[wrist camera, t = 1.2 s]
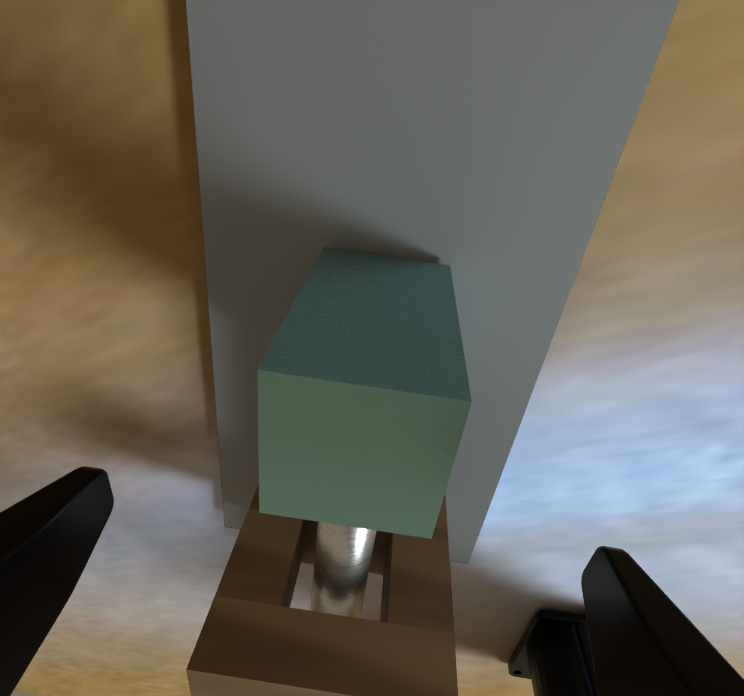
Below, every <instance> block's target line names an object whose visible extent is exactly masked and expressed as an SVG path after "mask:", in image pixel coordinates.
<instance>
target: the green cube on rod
mask: <svg viewBox="0 0 744 696" xmlns="http://www.w3.org/2000/svg"><path fill="white" fill-rule="evenodd" d="M257 374H258V450H259V513H265V514H272V515H278V516H285V517H292V518H298V519H305V520H311V521H318V527H317V539H316V550H315V561H314V573H313V584H312V595H311V607H310V611H314V612H321V613H327V614H334V615H340V616H347V617H353V618H359V619H360V614H361V609H362V603H363V598H364V593H365V588H366V583H367V577H368V572H369V567H370V562H371V557H372V551H373V546H374V541H375V536H376V531H383V532H390V533H396V534H403V535H409V536H416V537H422V538H429V539H432V536H433V532H434V529H435V525H436V522H437V519H438V515H439V512H440V508H441V505H442V502H443V498H444V495H445V491H446V488H447V485H448V481H449V478H450V474H451V471H452V467H453V464H454V461H455V457H456V454H457V450H458V447H459V444H460V440H461V437H462V433H463V430H464V427H465V423H466V420H467V416H468V413H469V410H470V406H471V403H472V400H471V393H470V387H469V381H468V375H467V368H466V362H465V356H464V350H463V343H462V337H461V331H460V325H459V318H458V312H457V306H456V299H455V293H454V287H453V281H452V274H451V268H450V265H447V264H440V263H433V262H426V261H419V260H412V259H405V258H399V257H392V256H385V255H378V254H371V253H364V252H357V251H350V250H343V249H336V248H330V247H323V249H322V251H321V253H320V255H319V257H318V259H317V260H316V262H315V264H314V266H313V268H312V270H311V272H310V273H309V275H308V277H307V279H306V281H305V283H304V284H303V286H302V288H301V290H300V292H299V294H298V296H297V297H296V299H295V301H294V303H293V305H292V307H291V309H290V310H289V312H288V314H287V316H286V318H285V320H284V322H283V323H282V325H281V327H280V329H279V331H278V333H277V334H276V336H275V338H274V340H273V342H272V344H271V346H270V347H269V349H268V351H267V353H266V355H265V357H264V359H263V360H262V362H261V364H260V366H259V368H258V370H257Z"/></svg>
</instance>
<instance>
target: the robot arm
mask: <svg viewBox="0 0 744 696" xmlns="http://www.w3.org/2000/svg"><path fill="white" fill-rule="evenodd" d="M113 504H114V499H113V494H112V490H111V486H110V482H109V479H108V475H107V472H106V471H105V470H103V469H99V468H92V467H80V468H77V469H75V470H73V471H72V472H70V473H68V474H66V475H65V476H63V477H61V478H59V479H58V480H56V481H54V482H53V483H51V484H49V485H47V486H46V487H44V488H42V489H40V490H39V491H37V492H35V493H33V494H32V495H30V496H28V497H27V498H25V499H23V500H21V501H20V502H18V503H16V504H14V505H13V506H11V507H9V508H7V509H6V510H4V511H2V512H1V513H0V696H10V695H11V694H12V692H13V690H14V689H15V687H16V685H17V684H18V682H19V680H20V679H21V677H22V675H23V674H24V672H25V671H26V669H27V667H28V666H29V664H30V662H31V661H32V659H33V657H34V656H35V654H36V652H37V651H38V649H39V647H40V646H41V644H42V643H43V641H44V639H45V638H46V636H47V634H48V633H49V631H50V629H51V628H52V626H53V624H54V623H55V621H56V619H57V618H58V616H59V614H60V613H61V611H62V610H63V608H64V606H65V604H66V603H67V601H68V599H69V597H70V596H71V594H72V592H73V590H74V588H75V586H76V584H77V582H78V580H79V578H80V576H81V574H82V572H83V570H84V568H85V566H86V564H87V562H88V560H89V558H90V555H91V553H92V551H93V549H94V547H95V545H96V543H97V541H98V539H99V537H100V535H101V533H102V531H103V528H104V526H105V524H106V522H107V520H108V518H109V516H110V514H111V512H112V508H113ZM581 584H582V592H583V599H584V605H585V612H586V617H585V616H578V615H572V614H565V613H559V612H553V611H540V612H538V613H536V615H535V616H534V618H533V620H532V622H531V624H530V625H529V627H528V629H527V631H526V633H525V634H524V636H523V638H522V640H521V642H520V643H519V645H518V647H517V649H516V651H515V653H514V654H513V656H512V658H511V660H510V662H509V663H508V669H509V674H510V675H512V676H515V677H521V678H528V679H531V680H532V685H533V691H534V696H744V679H743V678H742V677H741V676H740V675H739V673H738V672H737V671H736V670H735V669H734V668H733V667H732V666H731V665H730V664H729V663H728V661H727V660H726V659H725V658H724V657H723V656H722V655H721V654H720V653H719V652H718V651H717V650H716V648H715V647H714V646H713V645H712V644H711V643H710V642H709V641H708V640H707V639H706V638H705V637H704V635H703V634H702V633H701V632H700V631H699V630H698V629H697V628H696V627H695V626H694V625H693V623H692V622H691V621H690V620H689V619H688V618H687V617H686V616H685V615H684V614H683V613H682V612H681V610H680V609H679V608H678V607H677V606H676V605H675V604H674V603H673V602H672V601H671V600H670V598H669V597H668V596H667V595H666V594H665V593H664V592H663V591H662V590H661V589H660V588H659V587H658V585H657V584H656V583H655V582H654V581H653V580H652V579H651V578H650V577H649V576H648V575H647V573H646V572H645V571H644V570H643V569H642V568H641V567H640V566H639V565H638V564H637V563H636V562H635V560H634V559H633V558H632V557H631V556H630V555H629V554H628V553H627V552H625V551H624V550H622V549H619V548H613V547H606V546H601V547H599V548H597V549H596V551H595V553H594V554H593V556H592V558H591V559H590V561H589V563H588V564H587V566H586V568H585V569H584V571H583V574H582V580H581Z"/></svg>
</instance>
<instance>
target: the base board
mask: <svg viewBox="0 0 744 696" xmlns="http://www.w3.org/2000/svg"><path fill="white" fill-rule="evenodd" d="M678 1H679V0H186V9H187V23H188V36H189V50H190V63H191V77H192V90H193V104H194V117H195V131H196V144H197V158H198V171H199V185H200V199H201V212H202V226H203V239H204V253H205V266H206V280H207V293H208V307H209V320H210V334H211V347H212V361H213V375H214V388H215V402H216V415H217V429H218V442H219V456H220V469H221V483H222V496H223V510H224V523H225V527H229V528H235V529H241V528H242V525H243V522H244V520H245V517H246V515H247V512H248V510H249V507H250V504H251V502H252V499H253V497H254V494H255V492H256V489H257V486H258V484H259V450H258V374H257V370H258V368H259V366H260V364H261V362H262V360H263V359H264V357H265V355H266V353H267V351H268V349H269V347H270V346H271V344H272V342H273V340H274V338H275V336H276V334H277V333H278V331H279V329H280V327H281V325H282V323H283V322H284V320H285V318H286V316H287V314H288V312H289V310H290V309H291V307H292V305H293V303H294V301H295V299H296V297H297V296H298V294H299V292H300V290H301V288H302V286H303V284H304V283H305V281H306V279H307V277H308V275H309V273H310V272H311V270H312V268H313V266H314V264H315V262H316V260H317V259H318V257H319V255H320V253H321V251H322V249H323V247H330V248H336V249H343V250H350V251H357V252H364V253H371V254H378V255H385V256H392V257H399V258H405V259H412V260H419V261H426V262H433V263H440V264H447V265H450V268H451V274H452V281H453V287H454V293H455V299H456V306H457V312H458V318H459V325H460V331H461V337H462V343H463V350H464V356H465V362H466V368H467V375H468V381H469V387H470V393H471V400H472V403H471V406H470V410H469V413H468V416H467V420H466V423H465V427H464V430H463V433H462V437H461V440H460V444H459V447H458V450H457V454H456V457H455V461H454V464H453V467H452V471H451V474H450V478H449V481H448V485H447V488H446V491H445V495H446V511H447V527H448V543H449V559H450V561H451V562H457V563H464V564H468V562H469V559H470V557H471V554H472V551H473V549H474V546H475V543H476V541H477V538H478V535H479V533H480V530H481V527H482V525H483V522H484V519H485V516H486V514H487V511H488V508H489V506H490V503H491V500H492V498H493V495H494V492H495V490H496V487H497V484H498V482H499V479H500V476H501V474H502V471H503V468H504V466H505V463H506V460H507V458H508V455H509V452H510V450H511V447H512V444H513V442H514V439H515V436H516V434H517V431H518V428H519V426H520V423H521V420H522V418H523V415H524V412H525V410H526V407H527V404H528V402H529V399H530V396H531V394H532V391H533V388H534V386H535V383H536V380H537V378H538V375H539V372H540V370H541V367H542V364H543V362H544V359H545V356H546V354H547V351H548V348H549V346H550V343H551V340H552V338H553V335H554V332H555V330H556V327H557V324H558V322H559V319H560V316H561V314H562V311H563V308H564V306H565V303H566V300H567V298H568V295H569V292H570V290H571V287H572V284H573V282H574V279H575V276H576V274H577V271H578V268H579V266H580V263H581V260H582V258H583V255H584V252H585V250H586V247H587V244H588V242H589V239H590V236H591V234H592V231H593V228H594V226H595V223H596V220H597V218H598V215H599V212H600V210H601V207H602V204H603V202H604V199H605V196H606V194H607V191H608V188H609V186H610V183H611V180H612V178H613V175H614V172H615V170H616V167H617V164H618V161H619V159H620V156H621V153H622V151H623V148H624V145H625V143H626V140H627V137H628V135H629V132H630V129H631V127H632V124H633V121H634V119H635V116H636V113H637V111H638V108H639V105H640V103H641V100H642V97H643V95H644V92H645V89H646V87H647V84H648V81H649V79H650V76H651V73H652V71H653V68H654V65H655V63H656V60H657V57H658V55H659V52H660V49H661V47H662V44H663V41H664V39H665V36H666V33H667V31H668V28H669V25H670V23H671V20H672V17H673V15H674V12H675V9H676V7H677V4H678Z"/></svg>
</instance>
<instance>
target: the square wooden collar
mask: <svg viewBox="0 0 744 696" xmlns="http://www.w3.org/2000/svg"><path fill="white" fill-rule="evenodd" d="M317 527H318V521H311V520H305V519H298V518H292V517H285V516H278V515H272V514H265V513H259V484H258V486H257V489H256V492H255V494H254V497H253V499H252V502H251V504H250V507H249V510H248V512H247V515H246V517H245V520H244V522H243V525H242V528H241V530H240V533H239V535H238V538H237V540H236V543H235V546H234V548H233V551H232V553H231V556H230V558H229V561H228V564H227V566H226V569H225V571H224V574H223V576H222V579H221V582H220V584H219V587H218V589H217V592H216V595H215V597H214V600H213V602H212V605H211V607H210V610H209V613H208V615H207V618H206V620H205V623H204V625H203V628H202V631H201V633H200V636H199V638H198V641H197V643H196V646H195V649H194V651H193V654H192V656H191V659H190V661H189V664H188V667H187V669H186V670H187V676H188V681H189V686H190V692H191V696H458V687H457V671H456V655H455V639H454V623H453V607H452V591H451V575H450V559H449V543H448V527H447V511H446V495H444V498H443V502H442V505H441V508H440V512H439V515H438V519H437V522H436V525H435V529H434V532H433V536H432V539H429V538H422V537H416V536H409V535H403V534H396V533H390V532H383V531H376V536H375V541H374V546H373V551H372V557H371V562H370V567H369V572H368V573H374V574H381V575H383V586H382V601H381V615H380V622H379V621H372V620H366V619H359V618H353V617H347V616H340V615H334V614H327V613H321V612H314V611H308V610H302V609H295V608H290V605H291V600H292V596H293V592H294V588H295V584H296V580H297V576H298V571H299V567H300V563H301V562H303V563H309V564H314V561H315V550H316V539H317Z"/></svg>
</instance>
